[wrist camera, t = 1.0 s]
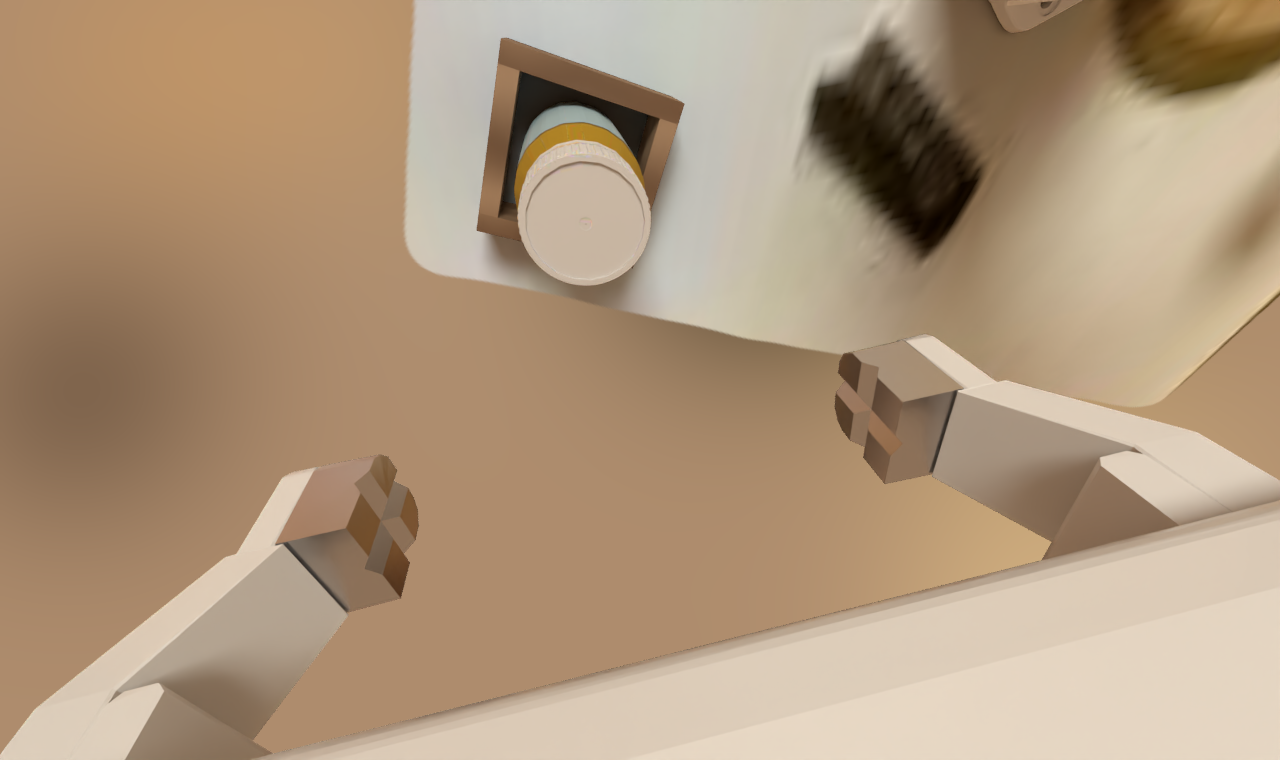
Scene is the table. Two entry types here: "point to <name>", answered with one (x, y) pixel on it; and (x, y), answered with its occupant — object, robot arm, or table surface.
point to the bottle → (580, 196)
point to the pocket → (565, 72)
